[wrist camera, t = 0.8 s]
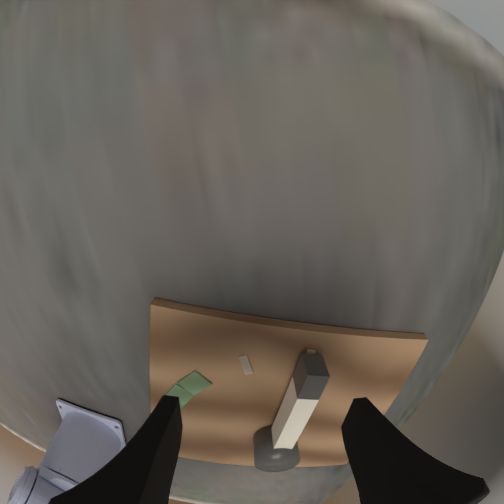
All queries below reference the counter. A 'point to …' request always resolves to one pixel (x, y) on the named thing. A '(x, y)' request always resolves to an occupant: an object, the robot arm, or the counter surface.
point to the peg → (291, 416)
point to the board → (266, 377)
